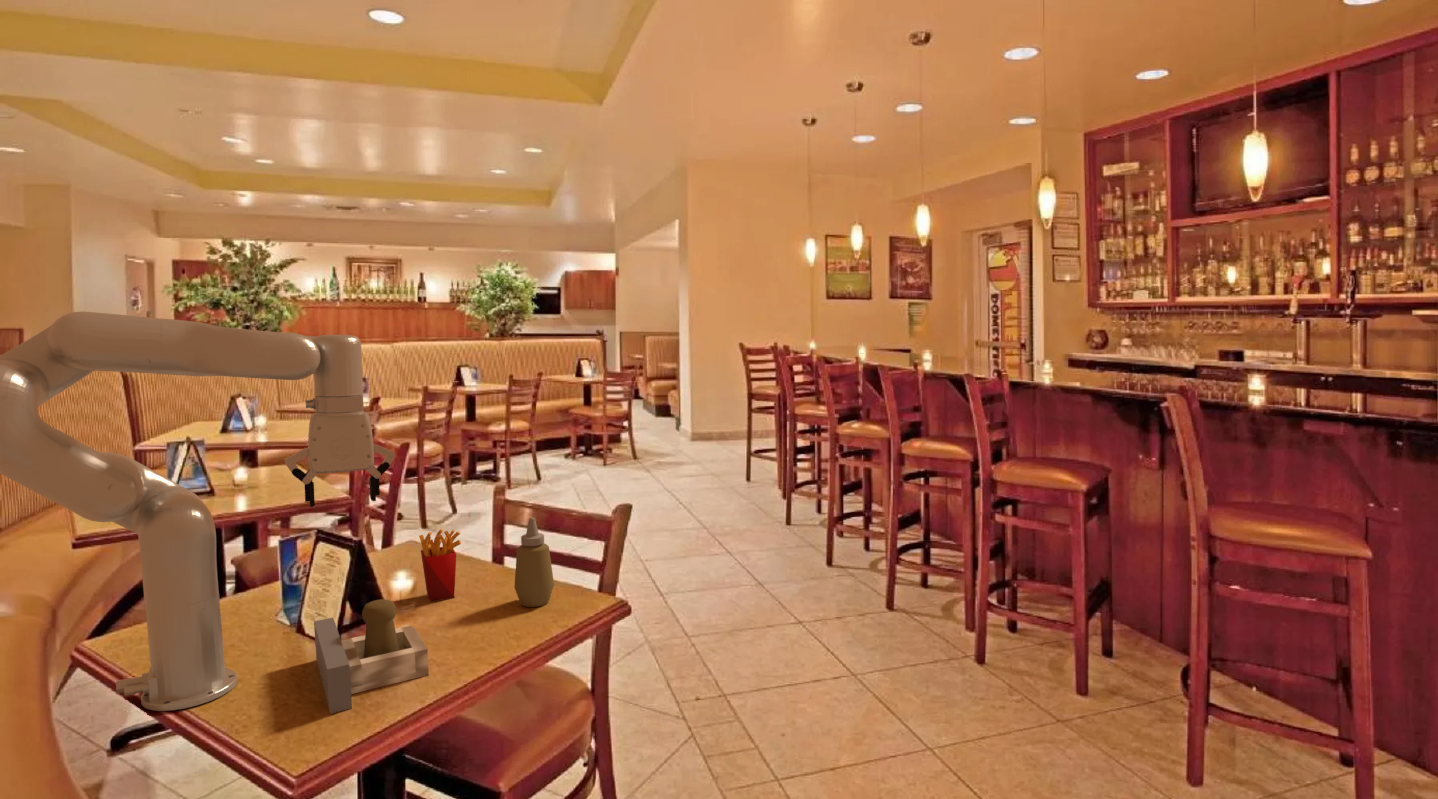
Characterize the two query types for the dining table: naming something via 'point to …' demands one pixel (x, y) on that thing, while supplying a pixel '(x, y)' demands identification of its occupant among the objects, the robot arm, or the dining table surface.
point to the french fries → (439, 565)
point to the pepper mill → (379, 628)
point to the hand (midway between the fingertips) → (343, 502)
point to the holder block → (386, 661)
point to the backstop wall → (332, 665)
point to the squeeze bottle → (533, 568)
